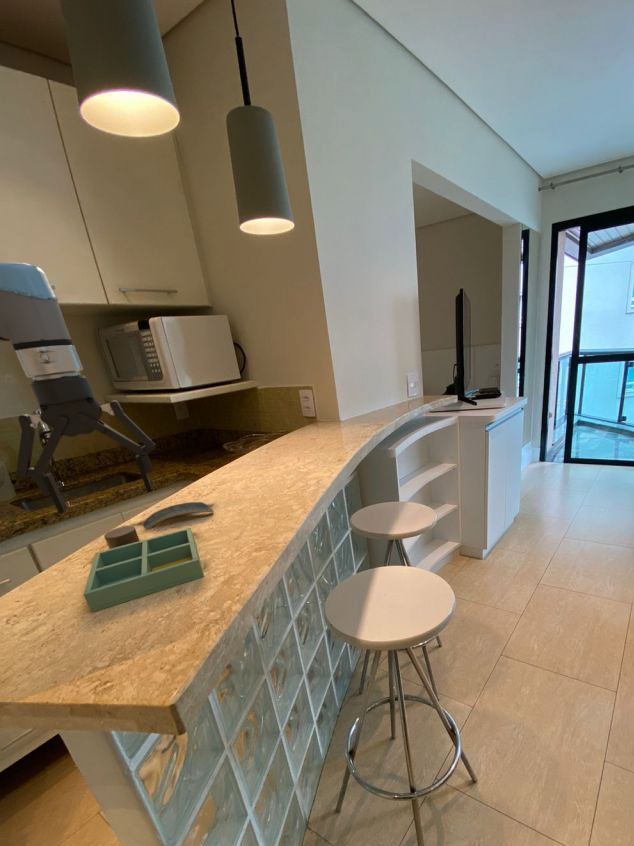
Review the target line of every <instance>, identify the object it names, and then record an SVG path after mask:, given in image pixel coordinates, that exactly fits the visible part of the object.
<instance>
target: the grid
mask: <svg viewBox="0 0 634 846" xmlns="http://www.w3.org/2000/svg"><path fill="white" fill-rule="evenodd" d="M204 577H205V575H204V570H203V567H202V562H201V558H200V555H199V551H198V548H197V543H196V539H195V537H194V534H193V531H192V528H191V527H186V528H182V529H179V530H175V531H172V532H167V533H164V534H161V535H156V536H153V537H149V538H146V539H143V540H140V541H138V542H134V543H131V544H127V545H123V546H120V547H116V548H112V549H109V548H108V549H105V550H102V551H97V552H94V556H93V559H92V563H91V567H90V571H89V573H88V577H87V581H86V584H85V588H84V592H83V597H84V599H85V601H86V603H87V606H88V608H89V610H90V612H91V613H95V612H98V611H100V610H101V611H102V610H104V609H107V608H110V607H113V606H117V605H120V604H123V603H125V602H129V601H132V600H135V599H138V598H141V597H144V596H148V595H152V594H154V593H157V592H160V591H163V590H166V589H169V588H173V587H177V586H179V585H182V584H185V583H188V582H191V581H195V580H197V579H201V578H204Z"/></svg>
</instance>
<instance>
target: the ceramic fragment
mask: <svg viewBox="0 0 634 846" xmlns="http://www.w3.org/2000/svg"><path fill="white" fill-rule="evenodd" d="M214 512H215V510H214V509H213V508H212V507H210V505H208V504H206V503H205V502H202V501H192V502H191V501H190V502H182V503H177V504H173V505H170V506H166V507H164V508H160V509H159V510H156V511H155V512H153V513H152V514H151V515H149V516H148V517H147V518H146V519H145V520H144V522H143V524H142V527H143V528H144V529H145V530H149V529H152V528H153V527H155V526H157V525H158V524H160V523H162V522H164V521H165V520H168V519H171V518H174V517H178V516H182V515H186V514H193V513H210V514H211V513H212V514H213V513H214Z"/></svg>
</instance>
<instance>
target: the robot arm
mask: <svg viewBox="0 0 634 846" xmlns="http://www.w3.org/2000/svg"><path fill="white" fill-rule="evenodd" d="M55 294H56V293H55V292H54V290H53V288H52V285H51V283H50V281H49V278H48V277H47V274H46V273H45V272H44V270H43V269H41V268H40V267H39V266H36V265H34V264H29V263H25V262H11V261H9V262H0V343H1V342H10V343H11V345H12V346H13V347H12V348H13V349H14V352H15V355H16V356H17V358H18V361H19V363H20V365H21V368H22V370H23V372H24V375H25V376H26V377H27V378H29V379H32V381H30V384H29V386H30V388H31V390H32V392H33V395H34V397H35V399H36V401H37V405H38V406H39V409H40V414H30V413H23V414H21V415H19V416H18V417H17V418H18V423H19V425H20V429H21V433H20V435H21V436H20V441H19V448H18V456H17V464H16V469H15V471H16V473H15V474H16V476H18V477H21V478H24V477H28V478H29V477H30V478H33V479H34V481H35V482H36V484H37V487H38V488H39V490H40V493H41V494H42V495H43V496H45V497H47V496H50V497H51V499H52V502H53V503H54V505H55V508H56V511H57V512H58V514H59V515H60V514H64V513H65V512H66V511H67V510H68V506H67V504H66V502H65V500H64V497H63V495H62V493H61V491H60V489H59V487H58V484H57V483H56V480H55V477H54V476H53V474H52V472H48V473H45V472H46V470H47V468H48V466H49V464H50V462H51V460H52V458H53V456H54V455H55V452H56V450H57V448H58V446H59V445H60V442H61V440H62V438H63V437H64V436H65V437H68V438H72V437H76V436H79V435H90V434H92V433H93V432H95V431H97V432H99V433H100V434H103V435H105V436H107V437H108V438H110V439H111V440H113V441H115V442H116V443H119V444H120V445H122V446H123V447H125V448H127V449H128V450H130V451H131V452H133V453H135V454H136V455H135V457H134V459H135V461H136V465H137V467H138V470H139V473H140V476H141V478H142V481H143V483H144V486H145V489H146V492H147V493H152V492H153V486H152V483H151V480H150V478H149V475H148V473H152V472H153V466H152V464H151V461H150V458H149V455H148V454H149V453H151V452H152V451H155V450H156V447H157V445H156V443H155V442H154V441H153V440H152V438H150V437H149V436H148V435H147V434H146V433H145V432H144V431H143V429H141V428H140V426H138V425H137V424H136V423H135V422H134V421H133V420H132V419H131V418H130V417H129V416H128V415H127V414H126V413H125V412H124V410H123V408H122V406H121V404H120V402H119V400H111V401H110V402H107V403H103V404H100V403H98V402H97V400H96V398H95V396H94V393H93V391H92V388H91V386H90V382H89V380H88V377H87V376H85V375H84V374H83V375H82V373H81V372H83V371H84V367H83V364H82V362H81V359H80V356H79V354H78V351H77V348H76V345H75V344H74V342H73V339H72V338H71V336H70V333H69V330H68V327H67V324H66V322H65V318H64V315H63V313H62V309H61V307H60V304H59V301H58V300H59V299H58V297H57V296H56V295H55ZM104 412H106V413H108V414H109V415H110V416H115V417H116V419H117V420H118V421H119V422H120V423H121V424H122V425H123V426H124V427H125V428H126V429H127V430H129V431H130V433H132V434H133V435H134V436H135V437H136V439H138V440H139V441H140V442H141V443H142V444H143V445H140V444H139V443H138V442H136V441H134V440H132V439H130V438H128V436H126V435H124V434H122V433H121V432H119V431H117V430H116V429H114V428H113V427H111V426H110V425H109V424H107V423H105V422H103V421H102V420H101V418H102V415H103V413H104ZM40 422H43V423H44V424H45V425H47V426H49V427H50V428H51V429H52V431H51V433H50V435H49V437H48V440H47V442H46V444H45V446H44V448H43V450H42V452H41V454H40V456H39V458H38V460H37V462H36V464H35V466H34V467H31V465H32V457H33V451H34V443H35V437H36V428H39V426H40Z"/></svg>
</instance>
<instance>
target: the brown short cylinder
mask: <svg viewBox="0 0 634 846" xmlns="http://www.w3.org/2000/svg"><path fill="white" fill-rule="evenodd" d="M103 537H104V539H105V542H106V544H107V546H108V550H109V549H112V548H116V547H120V546H123V545H127V544H131V543H134V542H138V541H141V540H140V538H139V536H138V532H137V529H136V527H135V526H134V525H125V526H120V527H116V528H113V529H111V530H109V531H107V532H106V533H105V534H104V535H103Z"/></svg>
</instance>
